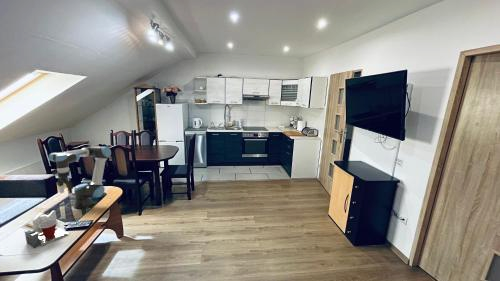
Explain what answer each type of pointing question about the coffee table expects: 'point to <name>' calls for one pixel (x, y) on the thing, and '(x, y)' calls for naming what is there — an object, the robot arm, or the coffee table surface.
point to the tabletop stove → (42, 237)
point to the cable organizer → (43, 219)
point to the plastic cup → (48, 228)
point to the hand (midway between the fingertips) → (66, 194)
